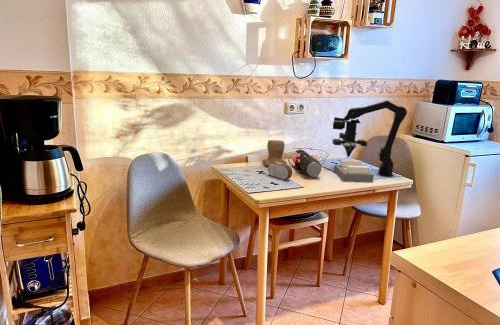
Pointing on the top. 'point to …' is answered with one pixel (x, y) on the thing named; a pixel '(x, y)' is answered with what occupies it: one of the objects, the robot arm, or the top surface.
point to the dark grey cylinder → (309, 164)
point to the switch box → (352, 175)
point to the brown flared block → (275, 152)
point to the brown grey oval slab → (279, 170)
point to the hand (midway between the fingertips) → (348, 157)
